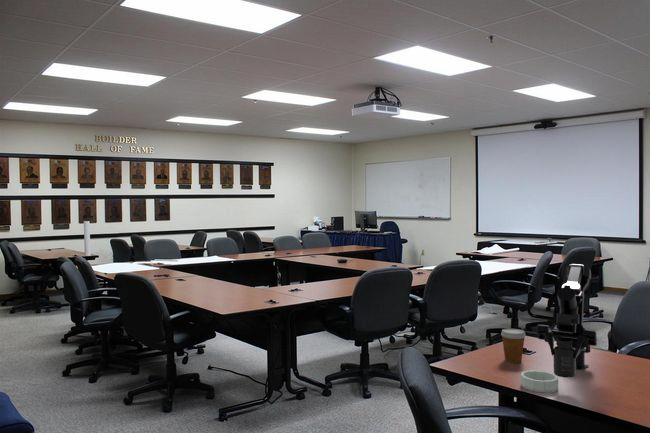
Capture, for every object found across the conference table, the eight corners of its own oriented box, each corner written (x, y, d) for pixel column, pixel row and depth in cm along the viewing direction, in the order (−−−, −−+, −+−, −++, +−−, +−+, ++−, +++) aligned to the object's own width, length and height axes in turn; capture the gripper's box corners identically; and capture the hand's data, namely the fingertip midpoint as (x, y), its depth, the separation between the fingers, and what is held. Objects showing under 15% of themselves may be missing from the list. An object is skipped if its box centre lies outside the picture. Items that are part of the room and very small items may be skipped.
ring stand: (533, 378, 193) (533, 368, 193) (565, 387, 183) (565, 376, 183) (513, 385, 186) (513, 374, 186) (546, 395, 176) (546, 383, 176)
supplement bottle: (579, 375, 179) (579, 339, 179) (570, 379, 174) (570, 343, 174) (558, 370, 184) (558, 336, 184) (549, 375, 179) (549, 339, 179)
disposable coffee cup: (495, 358, 219) (495, 329, 219) (514, 356, 222) (514, 327, 222) (511, 364, 210) (511, 334, 210) (530, 362, 214) (530, 332, 213)
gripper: (536, 301, 187) (530, 339, 178) (596, 306, 177) (592, 347, 168) (541, 319, 194) (535, 357, 185) (598, 325, 184) (595, 365, 175)
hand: (563, 356), depth 178 cm, fingers closed on supplement bottle, 7 cm apart
